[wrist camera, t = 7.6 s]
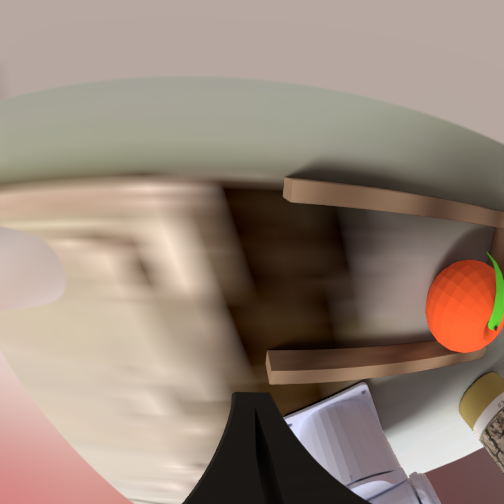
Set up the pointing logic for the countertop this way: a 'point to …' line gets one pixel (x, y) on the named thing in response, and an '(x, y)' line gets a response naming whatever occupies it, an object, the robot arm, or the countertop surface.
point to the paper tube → (486, 413)
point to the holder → (392, 356)
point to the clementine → (466, 305)
